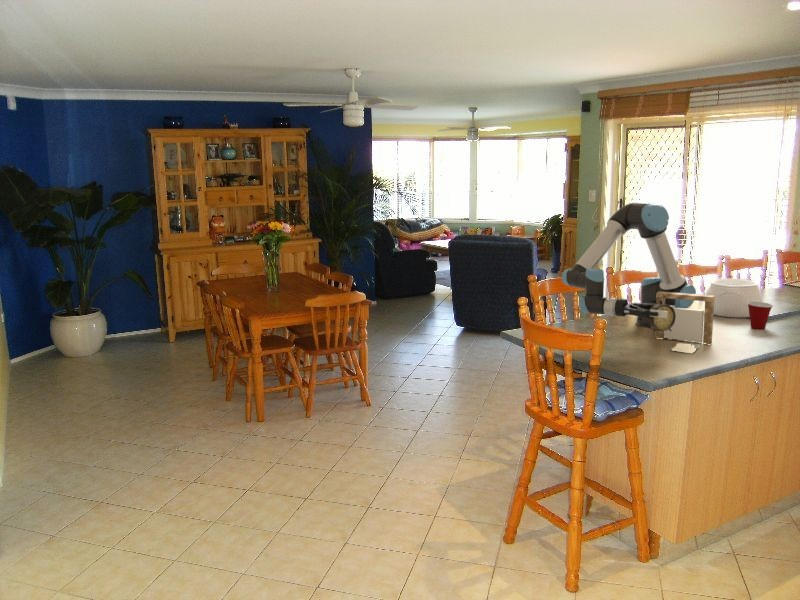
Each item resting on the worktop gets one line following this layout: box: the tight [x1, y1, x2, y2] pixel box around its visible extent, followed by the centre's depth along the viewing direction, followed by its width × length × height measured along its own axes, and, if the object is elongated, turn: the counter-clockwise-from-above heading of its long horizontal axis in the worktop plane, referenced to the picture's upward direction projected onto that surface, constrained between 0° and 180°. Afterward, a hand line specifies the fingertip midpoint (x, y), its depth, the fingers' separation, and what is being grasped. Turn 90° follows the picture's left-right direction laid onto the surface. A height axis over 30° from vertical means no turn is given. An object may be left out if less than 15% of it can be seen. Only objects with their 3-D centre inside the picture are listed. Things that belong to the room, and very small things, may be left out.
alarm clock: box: [647, 294, 676, 335], centre depth 281 cm, size 11×5×16 cm, turn 106°
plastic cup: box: [747, 301, 774, 331], centre depth 316 cm, size 11×11×12 cm
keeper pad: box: [689, 342, 702, 349], centre depth 288 cm, size 9×14×1 cm, turn 144°
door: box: [663, 308, 705, 344], centre depth 299 cm, size 15×2×14 cm, turn 55°
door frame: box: [654, 291, 715, 345], centre depth 298 cm, size 23×4×21 cm, turn 54°
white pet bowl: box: [705, 278, 764, 319], centre depth 347 cm, size 29×26×16 cm
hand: (670, 312), depth 278 cm, fingers closed on alarm clock, 10 cm apart
